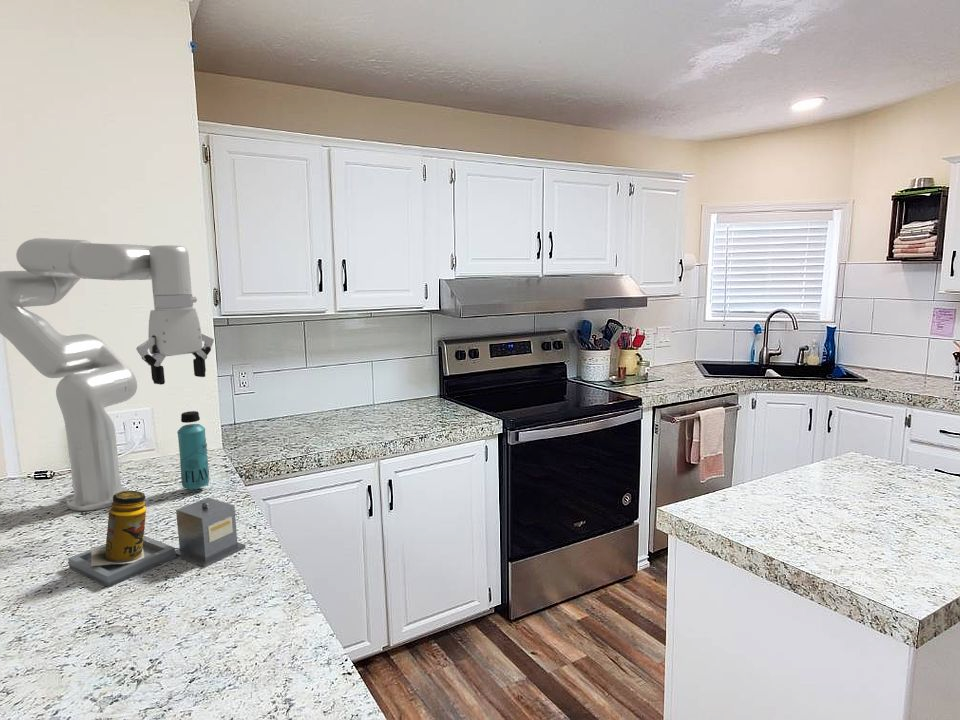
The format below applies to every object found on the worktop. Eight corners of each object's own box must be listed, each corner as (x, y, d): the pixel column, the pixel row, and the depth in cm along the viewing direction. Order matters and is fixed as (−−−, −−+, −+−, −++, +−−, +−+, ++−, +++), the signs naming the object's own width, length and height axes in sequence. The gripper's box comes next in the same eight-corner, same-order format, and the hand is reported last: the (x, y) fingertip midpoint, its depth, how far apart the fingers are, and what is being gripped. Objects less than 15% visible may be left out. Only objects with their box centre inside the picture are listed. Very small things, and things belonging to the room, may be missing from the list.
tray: (69, 568, 110) (68, 558, 110) (136, 541, 120) (135, 532, 120) (108, 587, 103) (107, 576, 103) (175, 557, 114) (174, 547, 113)
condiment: (145, 561, 110) (151, 499, 110) (91, 567, 106) (96, 501, 105) (142, 546, 117) (148, 487, 116) (91, 551, 112) (96, 489, 111)
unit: (172, 554, 115) (167, 506, 113) (213, 536, 123) (209, 491, 121) (204, 567, 110) (200, 517, 108) (245, 547, 117) (241, 500, 116)
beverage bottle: (182, 496, 144) (174, 416, 141) (181, 488, 150) (174, 410, 147) (211, 491, 147) (205, 413, 144) (209, 483, 153) (203, 407, 150)
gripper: (198, 300, 138) (204, 372, 141) (123, 304, 124) (131, 385, 126) (219, 301, 135) (225, 375, 137) (144, 305, 120) (152, 388, 123)
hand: (180, 380), depth 132 cm, fingers open, 9 cm apart
